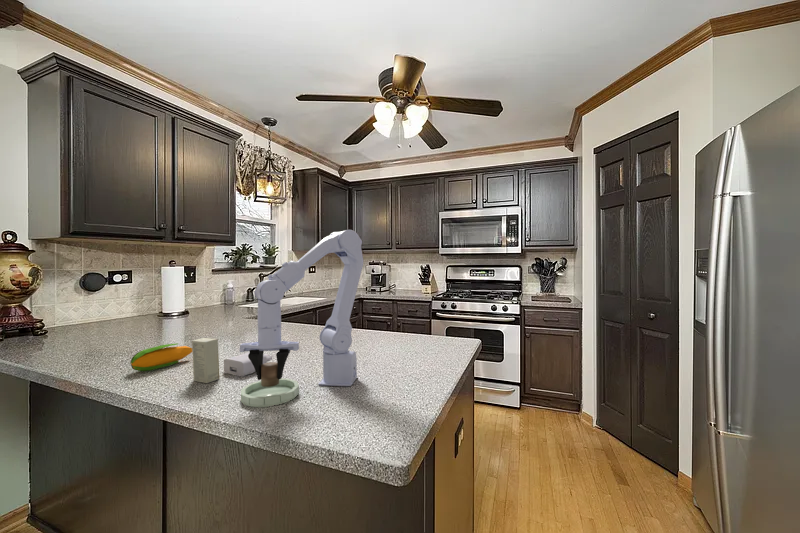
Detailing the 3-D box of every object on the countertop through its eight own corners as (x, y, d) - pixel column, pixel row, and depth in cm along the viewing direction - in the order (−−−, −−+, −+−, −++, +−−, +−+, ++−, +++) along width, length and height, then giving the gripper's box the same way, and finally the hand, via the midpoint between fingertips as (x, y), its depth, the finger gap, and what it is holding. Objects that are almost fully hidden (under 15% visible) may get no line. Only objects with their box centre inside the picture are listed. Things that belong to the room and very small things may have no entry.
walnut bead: (280, 380, 93) (280, 361, 93) (276, 386, 88) (276, 366, 88) (263, 381, 92) (263, 362, 92) (259, 387, 88) (258, 367, 88)
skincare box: (220, 379, 103) (219, 338, 103) (206, 384, 99) (205, 342, 99) (205, 376, 106) (205, 336, 106) (191, 381, 102) (191, 340, 102)
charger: (281, 364, 119) (243, 377, 105) (262, 360, 123) (223, 373, 110) (280, 350, 119) (243, 362, 105) (261, 347, 123) (223, 358, 110)
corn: (124, 349, 109) (185, 336, 127) (123, 373, 109) (185, 356, 128) (138, 353, 106) (199, 339, 124) (137, 378, 106) (198, 360, 125)
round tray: (306, 386, 96) (306, 379, 96) (284, 408, 83) (284, 399, 83) (258, 385, 98) (258, 377, 98) (229, 406, 84) (229, 397, 84)
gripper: (301, 323, 94) (301, 372, 95) (246, 324, 93) (247, 374, 94) (295, 328, 87) (296, 381, 88) (236, 329, 86) (236, 383, 86)
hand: (270, 378), depth 90 cm, fingers closed on walnut bead, 4 cm apart
